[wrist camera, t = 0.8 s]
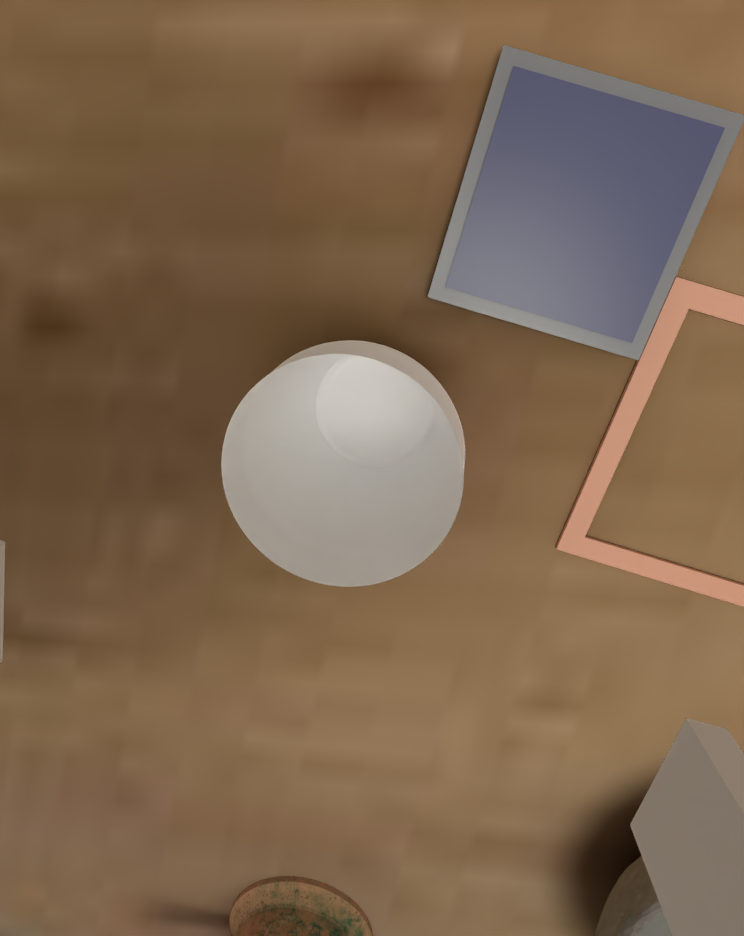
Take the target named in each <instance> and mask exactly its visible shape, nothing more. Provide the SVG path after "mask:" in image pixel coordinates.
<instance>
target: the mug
mask: <svg viewBox="0 0 744 936" xmlns="http://www.w3.org/2000/svg"><path fill="white" fill-rule="evenodd" d="M229 926H230V932H231V935H232V936H373V933H372V928H371V925H370V922H369V920H368V918H367V916H366V915H365V913H364V912H363V910H362V909H361V908H360V907H359V906H358V905H357V904H356V903H355V902H354V901H353V900H352V899H351V898H350V897H348V896H347V895H345V894H344V893H343V892H341V891H339V890H338V889H336V888H334V887H332V886H329V885H327V884H325V883H322V882H319V881H316V880H312V879H308V878H302V877H291V876H283V877H274V878H269V879H265V880H261V881H259V882H256V883H254V884H252V885H251V886H249V887H248V888H246V889H245V890H244V891H243V892H242V893H241V894H240V895H239V896H238V897H237V899H236V901H235V902H234V905H233V907H232V910H231V913H230V919H229Z"/></svg>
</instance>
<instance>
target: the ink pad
mask: <svg viewBox="0 0 744 936" xmlns="http://www.w3.org/2000/svg"><path fill="white" fill-rule="evenodd" d="M743 122H744V115H742V114H738V113H735V112H731V111H728V110H724V109H721V108H718V107H714V106H711V105H707V104H704V103H701V102H697V101H694V100H690V99H687V98H683V97H680V96H677V95H673V94H670V93H666V92H663V91H659V90H656V89H653V88H649V87H646V86H642V85H639V84H635V83H632V82H629V81H625V80H622V79H618V78H615V77H612V76H608V75H605V74H601V73H598V72H594V71H591V70H588V69H584V68H581V67H577V66H574V65H570V64H567V63H564V62H560V61H557V60H553V59H550V58H546V57H543V56H540V55H536V54H533V53H529V52H526V51H523V50H519V49H516V48H512V47H509V46H505V45H503V49H502V52H501V55H500V59H499V62H498V65H497V68H496V72H495V75H494V78H493V82H492V85H491V88H490V92H489V95H488V98H487V102H486V105H485V108H484V111H483V115H482V118H481V121H480V125H479V128H478V131H477V135H476V138H475V141H474V145H473V148H472V151H471V154H470V158H469V161H468V164H467V168H466V171H465V174H464V178H463V181H462V184H461V188H460V191H459V194H458V197H457V201H456V204H455V207H454V211H453V214H452V217H451V221H450V224H449V227H448V231H447V234H446V237H445V240H444V244H443V247H442V250H441V254H440V257H439V260H438V264H437V267H436V270H435V274H434V277H433V280H432V283H431V287H430V290H429V293H428V298H432V299H435V300H438V301H442V302H445V303H448V304H452V305H455V306H458V307H462V308H465V309H468V310H472V311H475V312H478V313H482V314H485V315H488V316H492V317H495V318H498V319H502V320H505V321H508V322H512V323H515V324H518V325H522V326H525V327H528V328H532V329H535V330H538V331H542V332H545V333H548V334H552V335H555V336H558V337H562V338H565V339H568V340H572V341H575V342H578V343H582V344H585V345H588V346H592V347H595V348H598V349H602V350H605V351H608V352H612V353H615V354H618V355H622V356H625V357H628V358H632V359H635V360H638V361H639V358H640V356H641V354H642V351H643V349H644V347H645V345H646V342H647V340H648V338H649V335H650V333H651V331H652V329H653V326H654V324H655V322H656V320H657V317H658V315H659V313H660V310H661V308H662V306H663V304H664V301H665V299H666V297H667V295H668V292H669V290H670V288H671V285H672V283H673V281H674V279H675V276H676V274H677V272H678V269H679V267H680V265H681V263H682V260H683V258H684V256H685V254H686V251H687V249H688V247H689V244H690V242H691V240H692V238H693V235H694V233H695V231H696V228H697V226H698V224H699V222H700V219H701V217H702V215H703V213H704V210H705V208H706V206H707V203H708V201H709V199H710V197H711V194H712V192H713V190H714V188H715V185H716V183H717V181H718V178H719V176H720V174H721V172H722V169H723V167H724V165H725V162H726V160H727V158H728V156H729V153H730V151H731V149H732V147H733V144H734V142H735V140H736V137H737V135H738V133H739V131H740V128H741V126H742V124H743Z"/></svg>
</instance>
